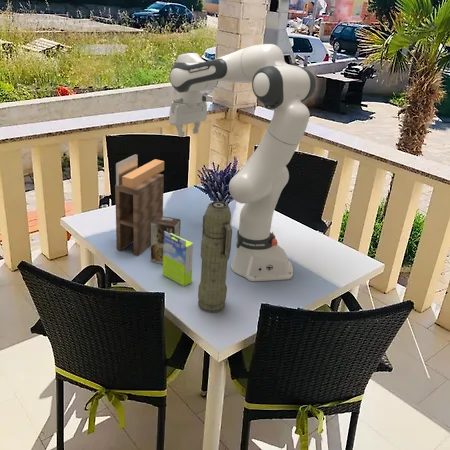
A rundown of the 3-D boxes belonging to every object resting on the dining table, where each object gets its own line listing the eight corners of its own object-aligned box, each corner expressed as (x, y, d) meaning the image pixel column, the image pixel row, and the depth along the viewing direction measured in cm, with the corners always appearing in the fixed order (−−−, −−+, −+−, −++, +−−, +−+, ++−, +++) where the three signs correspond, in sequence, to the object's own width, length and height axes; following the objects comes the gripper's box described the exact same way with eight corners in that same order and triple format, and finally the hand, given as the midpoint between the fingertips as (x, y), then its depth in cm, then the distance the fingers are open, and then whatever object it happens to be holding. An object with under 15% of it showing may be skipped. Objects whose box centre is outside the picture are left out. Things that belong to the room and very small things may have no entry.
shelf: (142, 231, 207) (142, 170, 196) (162, 236, 204) (163, 174, 193) (116, 249, 192) (115, 184, 181) (137, 256, 189) (137, 190, 178)
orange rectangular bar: (155, 167, 199) (155, 159, 197) (164, 169, 197) (164, 161, 196) (122, 185, 180) (122, 176, 179) (132, 188, 179) (132, 178, 178)
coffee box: (180, 258, 190) (181, 219, 183) (173, 267, 184) (175, 226, 177) (156, 253, 192) (157, 214, 185) (150, 262, 186) (150, 221, 179)
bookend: (135, 175, 191) (135, 154, 187) (137, 175, 190) (137, 154, 187) (116, 185, 181) (115, 163, 177) (118, 185, 180) (118, 164, 177)
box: (192, 282, 176) (194, 237, 169) (184, 287, 173) (186, 241, 166) (169, 270, 182) (171, 226, 174) (161, 275, 179) (162, 230, 171)
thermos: (208, 291, 172) (214, 194, 157) (234, 307, 165) (243, 207, 149) (188, 301, 166) (193, 201, 151) (214, 318, 159) (222, 215, 144)
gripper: (178, 100, 184) (179, 139, 189) (209, 96, 201) (209, 132, 205) (164, 99, 187) (165, 137, 192) (196, 95, 204) (196, 130, 208)
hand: (188, 134), depth 199 cm, fingers open, 8 cm apart
